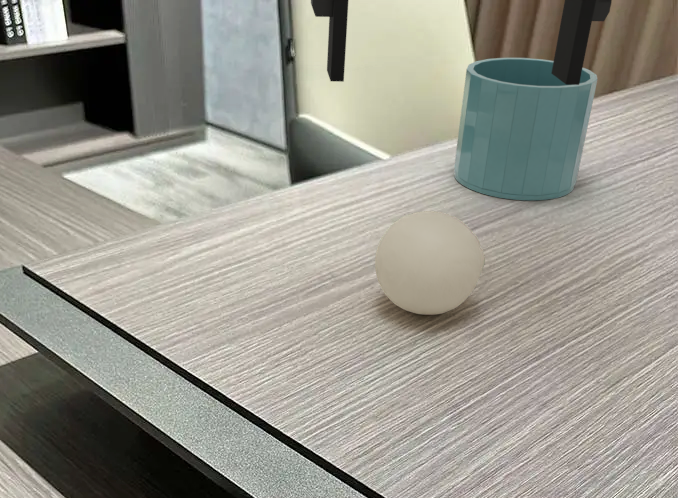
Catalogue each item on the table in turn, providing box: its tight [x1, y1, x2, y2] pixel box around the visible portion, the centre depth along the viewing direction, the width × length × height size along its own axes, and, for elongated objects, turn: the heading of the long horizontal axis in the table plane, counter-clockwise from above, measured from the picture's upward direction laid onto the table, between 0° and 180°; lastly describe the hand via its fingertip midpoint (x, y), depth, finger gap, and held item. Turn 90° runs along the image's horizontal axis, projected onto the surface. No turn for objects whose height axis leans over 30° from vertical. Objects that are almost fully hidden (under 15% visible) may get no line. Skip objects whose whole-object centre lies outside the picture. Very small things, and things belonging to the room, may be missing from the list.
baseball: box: [374, 210, 486, 316], centre depth 54 cm, size 7×7×7 cm
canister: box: [453, 57, 598, 201], centre depth 75 cm, size 11×11×10 cm
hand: (450, 78), depth 48 cm, fingers open, 13 cm apart
